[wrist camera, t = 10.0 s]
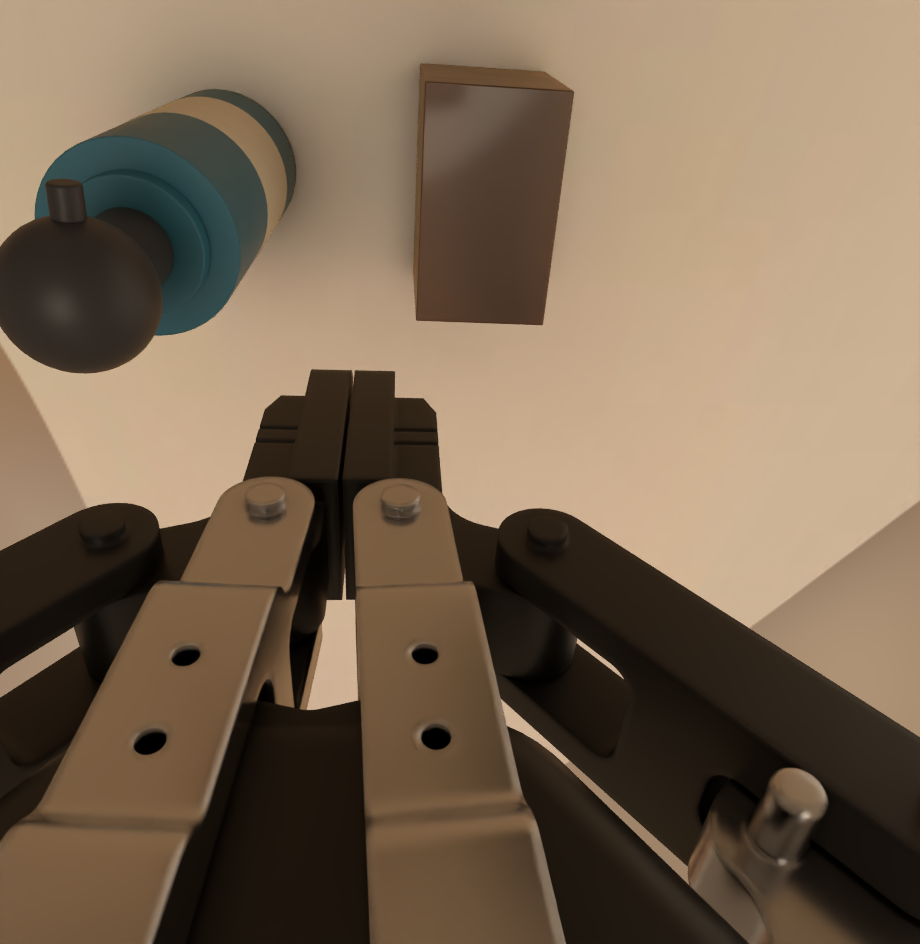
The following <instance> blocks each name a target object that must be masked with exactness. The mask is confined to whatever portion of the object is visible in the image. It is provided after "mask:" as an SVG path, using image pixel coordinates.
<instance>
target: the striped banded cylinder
mask: <svg viewBox="0 0 920 944" xmlns="http://www.w3.org/2000/svg"><path fill="white" fill-rule="evenodd" d="M295 181H296V166H295V160H294V155H293V152H292V148H291V146H290V143H289V141H288V139H287V137H286V135H285V133H284V131H283V130H282V128H281V127H280V125H279V124H278V123H277V121H276V120H275V119H274V118H273V117H272V116H271V115H270V113H269V112H267V111H266V110H265V109H264V108H263V107H262V106H260V105H259V104H257V103H256V102H254V101H253V100H251V99H249V98H247V97H245V96H243V95H240V94H237V93H235V92H231V91H226V90H215V89H213V90H203V91H199V92H195V93H192V94H190V95H187V96H185V97H183V98H181V99H178V100H175V101H173V102H170V103H168V104H166V105H163V106H161V107H159V108H157V109H154V110H152V111H150V112H147V113H145V114H143V115H141V116H138V117H136V118H134V119H132V120H130V121H128V122H126V123H124V124H122V125H119V126H117V127H115V128H113V129H110V130H108V131H106V132H104V133H101V134H99V135H97V136H95V137H92V138H90V139H88V140H85V141H83V142H81V143H79V144H76V145H75V146H73V147H71V148H70V149H68V150H67V151H65V152H64V153H63V154H62V155H60V156H59V157H58V158H57V159H56V160H55V161H54V162H53V164H52V165H51V166H50V167H49V169H48V170H47V172H46V174H45V176H44V177H43V179H42V181H41V184H40V187H39V190H38V193H37V198H36V203H35V220H33V221H31V222H29V223H27V224H25V225H23V226H21V227H20V228H18V229H17V230H16V231H14V232H13V233H12V234H11V235H10V236H9V237H8V238H7V239H6V240H5V241H4V242H3V244H2V245H1V247H0V327H1V328H2V330H3V331H4V333H5V334H6V335H7V336H8V338H9V339H10V340H11V341H12V342H13V343H14V344H15V345H16V346H17V347H18V348H19V349H20V350H21V351H22V352H24V353H25V354H27V355H28V356H29V357H31V358H32V359H34V360H36V361H38V362H40V363H42V364H44V365H46V366H49V367H52V368H55V369H58V370H61V371H66V372H71V373H97V372H102V371H107V370H111V369H114V368H117V367H119V366H121V365H123V364H125V363H127V362H129V361H130V360H132V359H133V358H135V357H136V356H137V355H138V354H139V353H141V352H142V351H143V350H144V349H145V348H146V346H147V345H148V344H149V342H150V341H151V339H152V338H153V336H154V335H160V336H161V335H173V334H178V333H183V332H186V331H189V330H192V329H195V328H197V327H199V326H200V325H202V324H204V323H206V322H207V321H209V320H210V319H211V318H213V317H214V316H215V315H216V314H217V313H218V312H219V311H220V310H221V309H222V308H223V307H224V305H225V304H226V303H227V301H228V300H229V298H230V297H231V295H232V294H233V292H234V290H235V289H236V287H237V286H238V284H239V283H240V281H241V279H242V278H243V276H244V275H245V273H246V272H247V270H248V268H249V267H250V265H251V264H252V262H253V261H254V259H255V258H256V257H257V255H258V254H259V252H260V251H261V249H262V247H263V246H264V244H265V243H266V241H267V240H268V238H269V236H270V235H271V233H272V232H273V230H274V229H275V227H276V225H277V224H278V222H279V220H280V218H281V217H282V215H283V214H284V212H285V210H286V209H287V207H288V205H289V203H290V201H291V198H292V196H293V192H294V188H295Z"/></svg>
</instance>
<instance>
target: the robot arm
mask: <svg viewBox="0 0 920 944" xmlns="http://www.w3.org/2000/svg"><path fill="white" fill-rule="evenodd" d="M344 574H346V600H355V612H356V653H357V682H358V701H354V702H349V703H345V704H340V705H336V706H331V707H327V708H322V709H317V710H307V706H308V701H309V697H310V692H311V688H312V683H313V679H314V674H315V670H316V665H317V661H318V656H319V652H320V647H321V643H322V621H323V619H324V616H325V610H326V601H327V600H342V595H343V585H344ZM73 627H74V629H75V632H76V636H77V639H78V642H79V645H80V647H78V648H77V649H75V650H74V651H72V652H71V653H69V654H68V655H66V656H64V657H63V658H61V659H60V660H58V661H57V662H55V663H54V664H52V665H51V666H49V667H47V668H46V669H44V670H43V671H41V672H40V673H38V674H37V675H35V676H34V677H32V678H30V679H29V680H27V681H25V682H24V683H23V684H21V685H19V686H18V687H16V688H15V689H13V690H12V691H10V692H8V693H7V694H5V695H4V696H2V697H1V698H0V944H920V737H918V736H917V735H915V734H914V733H912V732H911V731H909V730H908V729H906V728H904V727H903V726H901V725H900V724H898V723H896V722H895V721H893V720H892V719H890V718H889V717H887V716H886V715H884V714H883V713H881V712H879V711H878V710H876V709H875V708H873V707H872V706H870V705H868V704H867V703H865V702H864V701H862V700H861V699H859V698H858V697H856V696H854V695H853V694H851V693H850V692H848V691H847V690H845V689H843V688H842V687H840V686H838V685H837V684H836V683H834V682H832V681H831V680H829V679H827V678H826V677H824V676H823V675H822V674H820V673H818V672H817V671H815V670H814V669H812V668H810V667H809V666H807V665H806V664H804V663H803V662H801V661H800V660H798V659H796V658H795V657H793V656H792V655H790V654H789V653H787V652H785V651H784V650H782V649H781V648H779V647H778V646H776V645H775V644H773V643H771V642H770V641H768V640H767V639H765V638H763V637H762V636H760V635H759V634H757V633H756V632H754V631H753V630H751V629H749V628H748V627H746V626H745V625H743V624H742V623H740V622H738V621H737V620H735V619H734V618H732V617H731V616H729V615H728V614H726V613H724V612H723V611H721V610H720V609H718V608H717V607H715V606H713V605H712V604H710V603H709V602H707V601H706V600H704V599H702V598H701V597H699V596H698V595H696V594H695V593H693V592H691V591H690V590H688V589H687V588H685V587H684V586H682V585H681V584H679V583H677V582H676V581H674V580H673V579H671V578H670V577H668V576H666V575H665V574H663V573H662V572H660V571H659V570H657V569H655V568H654V567H652V566H651V565H649V564H648V563H646V562H644V561H643V560H641V559H640V558H638V557H637V556H635V555H634V554H632V553H630V552H629V551H627V550H626V549H624V548H623V547H621V546H619V545H618V544H616V543H615V542H613V541H612V540H610V539H608V538H607V537H605V536H604V535H602V534H601V533H599V532H598V531H596V530H594V529H593V528H591V527H590V526H588V525H587V524H585V523H583V522H582V521H580V520H579V519H577V518H575V517H573V516H571V515H569V514H566V513H564V512H560V511H557V510H551V509H542V508H539V509H527V510H522V511H518V512H516V513H514V514H512V515H510V516H508V517H507V518H506V519H505V520H504V521H503V522H502V523H501V525H500V527H499V529H497V528H493V527H488V526H484V525H480V524H477V523H474V522H471V521H468V520H466V519H464V518H462V517H460V516H459V515H457V514H456V513H455V512H453V511H452V510H451V509H450V508H449V507H448V505H447V502H446V499H445V497H444V496H443V494H442V485H441V471H440V458H439V445H438V432H437V418H436V412H435V411H434V410H433V409H432V408H431V407H430V405H429V404H428V403H427V402H426V401H425V400H424V399H423V398H395V371H359V370H355V375H354V384H353V374H352V370H314V369H312V370H311V372H310V377H309V381H308V385H307V390H306V394H305V396H280V397H279V398H278V399H277V400H275V401H274V402H273V403H272V404H271V405H270V406H269V407H267V408H266V409H265V411H264V414H263V418H262V421H261V424H260V429H259V431H258V434H257V437H256V443H255V444H254V447H253V450H252V453H251V457H250V460H249V463H248V466H247V470H246V473H245V476H244V479H243V482H241V483H238V484H236V485H234V486H232V487H231V488H229V489H228V490H227V491H225V492H224V493H223V494H222V495H221V497H220V498H219V500H218V502H217V504H216V506H215V508H214V510H213V512H212V515H211V517H208V518H206V519H203V520H200V521H196V522H192V523H187V524H182V525H177V526H172V527H167V528H162V529H160V528H159V523H158V520H157V518H156V516H155V515H154V514H153V513H152V512H151V511H149V510H148V509H146V508H144V507H141V506H138V505H134V504H128V503H110V504H103V505H97V506H93V507H90V508H87V509H84V510H81V511H79V512H76V513H74V514H72V515H71V516H68V517H67V518H64V519H62V520H60V521H58V522H56V523H54V524H52V525H51V526H49V527H46V528H45V529H43V530H41V531H39V532H37V533H35V534H33V535H31V536H29V537H27V538H25V539H23V540H21V541H19V542H17V543H15V544H13V545H11V546H9V547H7V548H5V549H3V550H1V551H0V674H1V673H2V672H3V671H4V670H5V669H7V668H8V667H10V666H11V665H13V664H15V663H16V662H18V661H19V660H21V659H23V658H24V657H26V656H28V655H29V654H31V653H32V652H34V651H35V650H37V649H39V648H40V647H42V646H44V645H45V644H47V643H48V642H50V641H52V640H53V639H55V638H57V637H58V636H60V635H61V634H63V633H65V632H66V631H68V630H69V629H71V628H73ZM577 638H578V639H579V640H581V641H582V642H583V643H585V644H586V645H587V646H588V647H590V648H591V649H592V650H594V651H595V652H596V653H598V654H599V655H600V656H602V657H603V658H604V659H605V660H607V661H608V662H609V663H611V664H612V665H613V666H614V667H615V668H616V669H617V670H618V671H619V672H620V674H621V675H622V676H623V678H624V679H622V678H621V677H620V676H619V675H617V674H616V673H615V672H613V671H612V670H611V669H609V668H608V667H607V666H606V665H604V664H603V663H602V662H600V661H599V660H598V659H596V658H595V657H594V656H593V655H591V654H590V653H589V652H587V651H586V650H585V649H583V648H582V647H581V646H580V645H578V644H577V643H576V642H577ZM501 699H502V700H503V701H504V702H505V703H506V704H507V705H509V706H510V707H511V708H512V709H513V710H514V711H515V712H516V713H517V714H519V715H520V716H521V717H522V718H523V719H524V720H525V721H526V722H527V723H529V724H530V725H531V726H532V727H533V728H534V729H535V730H536V731H538V732H539V733H540V734H541V735H542V736H543V737H544V738H545V739H546V740H548V741H549V742H550V743H551V744H552V745H553V746H554V747H555V748H556V749H558V750H559V751H560V752H561V753H562V754H563V755H564V756H565V757H566V758H568V759H569V760H570V761H571V762H572V763H573V764H574V765H575V766H576V767H578V768H579V769H580V770H581V771H582V772H583V773H584V774H585V775H586V776H588V777H589V778H590V779H591V780H592V781H593V782H594V783H595V784H596V785H598V786H599V787H600V788H601V789H602V790H603V791H604V792H605V793H607V794H608V795H609V796H610V797H611V798H612V799H613V800H614V801H616V802H617V803H618V804H619V805H620V806H621V807H622V808H623V809H624V810H625V811H627V812H628V813H629V814H630V815H631V816H632V817H633V818H634V819H635V820H637V821H638V822H639V823H640V824H641V825H642V826H643V827H644V828H645V829H647V830H648V831H649V832H650V833H651V834H652V835H653V836H654V837H655V838H657V839H658V840H659V841H660V842H661V843H662V844H663V845H664V846H666V847H667V848H668V849H669V850H670V851H671V852H672V853H673V854H674V855H676V856H677V857H678V858H679V859H680V860H681V861H682V862H683V863H684V864H686V865H687V866H688V880H689V885H688V884H687V883H686V882H685V881H684V880H683V879H682V878H681V877H680V876H679V875H678V874H677V873H676V872H675V871H674V870H673V869H672V868H671V867H670V866H669V865H668V864H666V862H665V861H663V859H661V858H660V857H659V856H658V855H657V854H656V853H655V852H654V851H653V850H652V849H651V848H650V847H649V846H648V845H647V844H646V843H645V842H644V841H643V840H642V839H641V838H640V837H639V836H638V835H637V834H636V833H635V832H634V831H633V830H632V829H630V827H628V826H627V825H626V824H625V823H624V822H623V821H622V820H621V819H620V818H619V817H618V816H617V815H616V814H615V813H614V812H613V811H612V810H611V809H610V808H609V807H608V806H607V805H606V804H605V803H604V802H603V801H602V800H601V799H599V798H598V796H596V795H595V794H594V793H593V792H592V791H591V790H590V789H589V788H588V787H587V786H586V785H585V784H584V783H583V782H582V781H581V780H580V779H579V778H578V777H577V776H576V775H575V774H574V773H573V772H572V771H571V770H570V769H569V768H568V767H567V766H565V765H564V764H563V763H562V762H561V761H560V760H559V759H558V758H557V757H556V756H555V755H554V754H552V753H551V752H550V751H549V750H547V749H546V748H545V747H543V746H542V745H541V744H539V743H538V742H536V741H535V740H533V739H531V738H530V737H528V736H526V735H524V734H523V733H521V732H519V731H517V730H515V729H512V728H510V727H508V726H507V725H506V720H505V716H504V711H503V707H502V703H501Z"/></svg>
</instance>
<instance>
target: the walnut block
mask: <svg viewBox="0 0 920 944" xmlns="http://www.w3.org/2000/svg"><path fill="white" fill-rule="evenodd" d="M573 97H574V91H573V90H571V89H570V88H568V87H567V86H565V85H564V84H562V83H561V82H559V81H558V80H556V79H555V78H553V77H552V76H550V75H549V74H547V73H546V72H540V71H525V70H510V69H496V68H481V67H467V66H452V65H438V64H423V63H421V64H420V83H419V112H418V142H417V172H416V201H415V231H414V260H413V277H414V293H415V310H416V320H417V321H442V322H470V323H498V324H526V325H543V320H544V313H545V305H546V298H547V290H548V283H549V275H550V268H551V260H552V253H553V246H554V238H555V231H556V223H557V216H558V208H559V201H560V193H561V186H562V179H563V171H564V164H565V156H566V149H567V141H568V134H569V126H570V119H571V112H572V104H573Z"/></svg>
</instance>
